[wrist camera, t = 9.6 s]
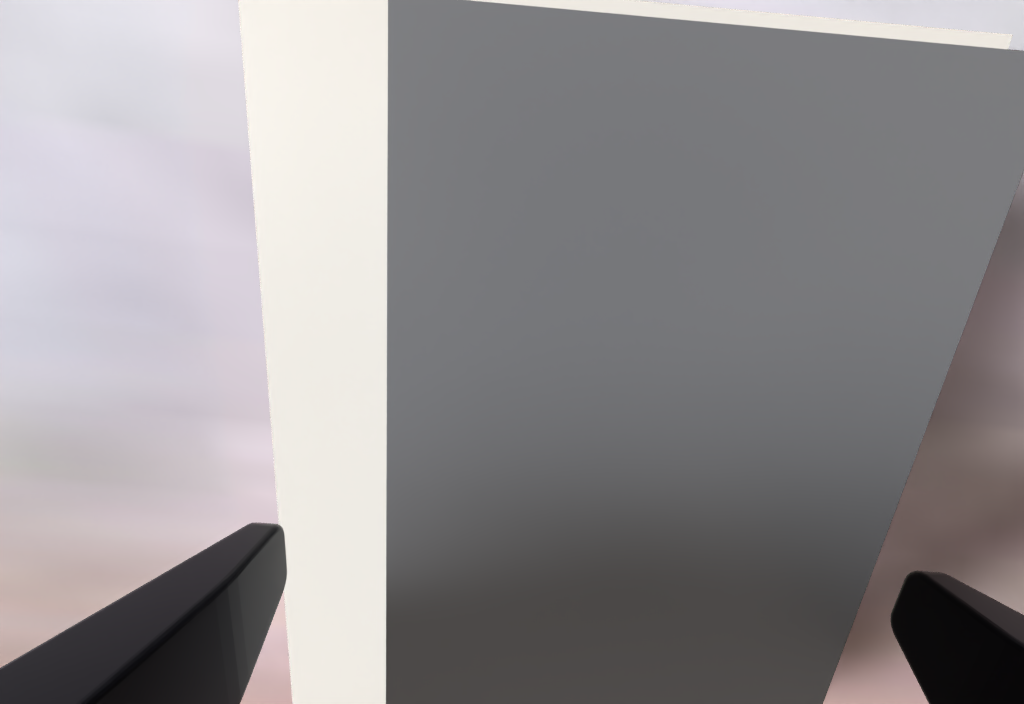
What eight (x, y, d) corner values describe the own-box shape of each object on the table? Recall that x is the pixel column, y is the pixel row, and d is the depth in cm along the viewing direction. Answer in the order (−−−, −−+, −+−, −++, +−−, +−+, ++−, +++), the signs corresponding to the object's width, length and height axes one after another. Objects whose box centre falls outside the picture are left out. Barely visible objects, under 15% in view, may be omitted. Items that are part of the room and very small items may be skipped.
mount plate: (743, 695, 15) (834, 905, 11) (315, 666, 15) (232, 869, 10) (940, 54, 10) (1275, -38, 5) (277, -6, 9) (79, -151, 5)
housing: (638, 696, 13) (709, 1003, 8) (433, 683, 13) (384, 985, 8) (765, 117, 9) (1067, 54, 4) (459, 90, 9) (388, -7, 4)
